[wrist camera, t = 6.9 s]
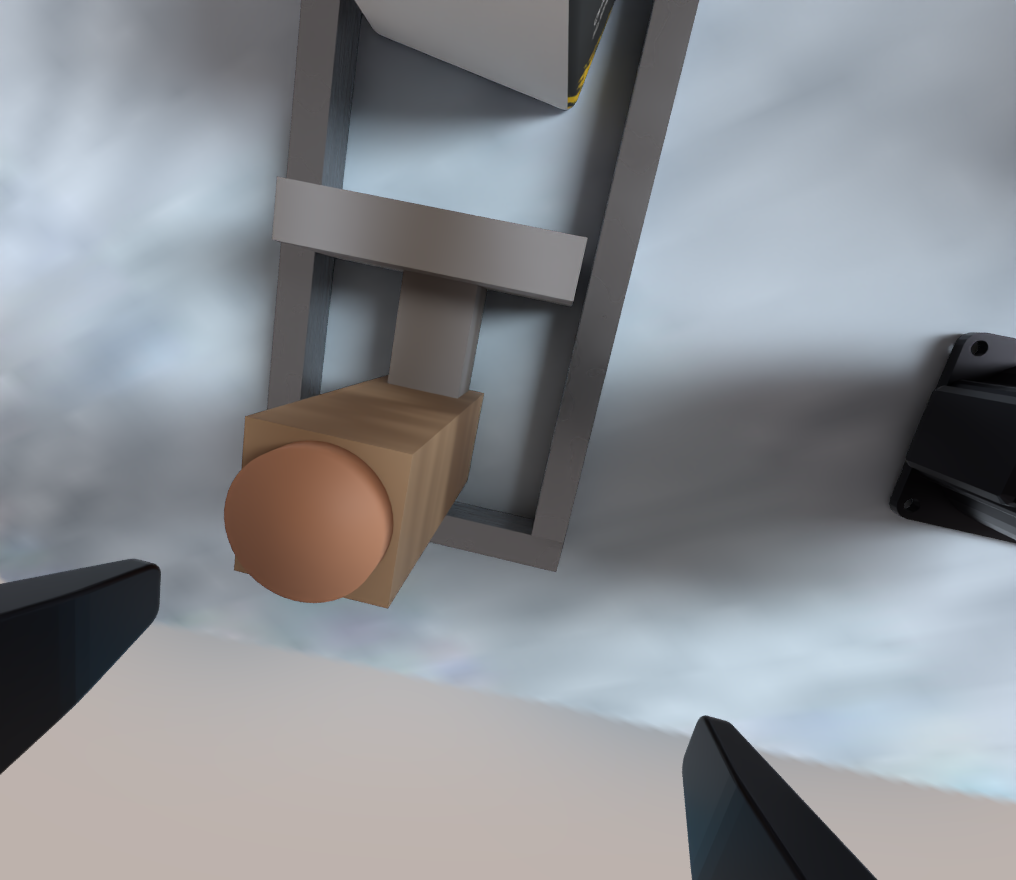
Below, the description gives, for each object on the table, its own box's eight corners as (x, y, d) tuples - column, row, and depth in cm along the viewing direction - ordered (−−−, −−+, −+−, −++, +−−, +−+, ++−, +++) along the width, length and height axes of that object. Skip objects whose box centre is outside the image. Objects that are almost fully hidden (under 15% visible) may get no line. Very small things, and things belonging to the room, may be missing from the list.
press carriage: (582, 259, 17) (602, 181, 8) (528, 495, 19) (494, 658, 10) (348, 212, 18) (102, 87, 8) (321, 447, 20) (101, 558, 10)
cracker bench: (762, -278, 14) (955, -863, 7) (556, 554, 20) (552, 672, 13) (358, -331, 14) (175, -909, 8) (281, 488, 21) (142, 569, 14)
